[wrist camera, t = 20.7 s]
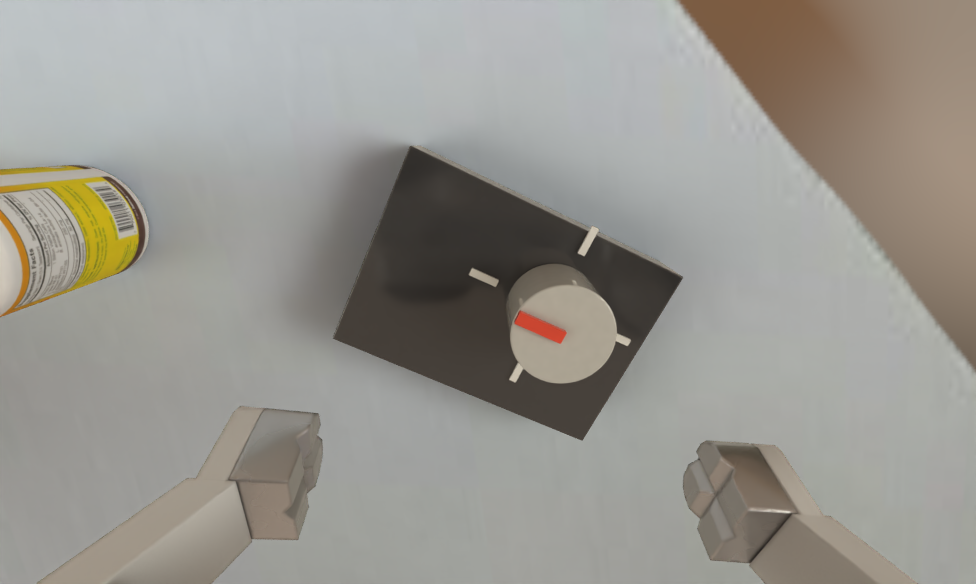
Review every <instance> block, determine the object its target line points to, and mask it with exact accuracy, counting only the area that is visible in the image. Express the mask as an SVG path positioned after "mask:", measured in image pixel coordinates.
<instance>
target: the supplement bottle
mask: <svg viewBox="0 0 976 584" xmlns="http://www.w3.org/2000/svg"><path fill="white" fill-rule="evenodd" d="M148 239H149V225H148V220H147V216H146V213H145V211H144V209H143V206H142V205H141V203H140V201H139V200H138V198H137V197H136V195H135V194H134V193H133V192H132V191H131V190H130V189H129V188H128V187H127V186H126V185H125V184H124V183H123V182H121V181H120V180H119V179H117V178H116V177H114V176H112V175H110V174H109V173H106V172H104V171H102V170H99V169H96V168H93V167H88V166H80V165H68V166H51V167H36V168H17V169H2V170H0V317H2V316H4V315H7V314H10V313H12V312H15V311H18V310H20V309H23V308H26V307H29V306H31V305H34V304H37V303H40V302H43V301H45V300H48V299H50V298H53V297H56V296H58V295H61V294H64V293H67V292H69V291H72V290H75V289H77V288H80V287H83V286H85V285H88V284H91V283H93V282H96V281H99V280H102V279H104V278H107V277H110V276H112V275H115V274H118V273H120V272H122V271H124V270H126V269H128V268H130V267H131V266H133V265H134V264H135V263H136V262H137V261H138V260H139V259H140V258H141V256H142V255H143V253H144V251H145V249H146V247H147V243H148Z"/></svg>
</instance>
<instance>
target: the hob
mask: <svg viewBox="0 0 976 584" xmlns="http://www.w3.org/2000/svg"><path fill="white" fill-rule="evenodd" d="M598 231H599V229H598V228H596V227H594V226H591V228H590V227H587V226H585V225H583V224H581V223H579V222H577V221H575V220H573V219H571V218H569V217H567V216H565V215H563V214H561V213H559V212H556V211H554V210H552V209H550V208H548V207H546V206H544V205H542V204H540V203H538V202H536V201H534V200H532V199H530V198H528V197H525V196H523V195H521V194H519V193H517V192H515V191H513V190H511V189H509V188H507V187H505V186H503V185H501V184H499V183H497V182H494V181H492V180H490V179H488V178H486V177H484V176H482V175H480V174H478V173H476V172H474V171H472V170H470V169H468V168H466V167H463V166H461V165H459V164H457V163H455V162H453V161H451V160H449V159H447V158H445V157H443V156H441V155H439V154H437V153H435V152H432V151H430V150H428V149H426V148H424V147H422V146H410V147H409V150H408V152H407V155H406V157H405V160H404V162H403V165H402V167H401V169H400V172H399V174H398V177H397V179H396V182H395V184H394V187H393V189H392V192H391V194H390V197H389V199H388V202H387V204H386V207H385V209H384V212H383V214H382V217H381V219H380V222H379V224H378V226H377V229H376V231H375V234H374V236H373V239H372V241H371V244H370V246H369V249H368V251H367V254H366V256H365V259H364V261H363V264H362V266H361V269H360V271H359V274H358V276H357V279H356V281H355V284H354V286H353V288H352V291H351V293H350V296H349V298H348V301H347V303H346V306H345V308H344V311H343V313H342V316H341V318H340V321H339V323H338V326H337V328H336V331H335V333H334V336H333V339H335V340H338V341H340V342H343V343H345V344H348V345H350V346H353V347H355V348H357V349H360V350H362V351H365V352H367V353H370V354H372V355H375V356H377V357H379V358H382V359H384V360H387V361H389V362H392V363H394V364H396V365H399V366H401V367H404V368H406V369H409V370H411V371H414V372H416V373H418V374H421V375H423V376H426V377H428V378H431V379H433V380H435V381H438V382H440V383H443V384H445V385H448V386H450V387H453V388H455V389H457V390H460V391H462V392H465V393H467V394H470V395H472V396H475V397H477V398H479V399H482V400H484V401H487V402H489V403H492V404H494V405H496V406H499V407H501V408H504V409H506V410H509V411H511V412H514V413H516V414H518V415H521V416H523V417H526V418H528V419H531V420H533V421H535V422H538V423H540V424H543V425H545V426H548V427H550V428H553V429H555V430H557V431H560V432H562V433H565V434H567V435H570V436H572V437H575V438H577V439H579V440H583V439H584V437H585V435H586V434H587V432H588V431H589V429H590V427H591V426H592V424H593V423H594V421H595V419H596V418H597V416H598V414H599V413H600V411H601V410H602V408H603V406H604V405H605V403H606V402H607V400H608V398H609V397H610V395H611V393H612V392H613V390H614V389H615V387H616V385H617V384H618V382H619V381H620V379H621V377H622V376H623V374H624V372H625V371H626V369H627V368H628V366H629V364H630V363H631V361H632V360H633V358H634V356H635V355H636V353H637V351H638V350H639V348H640V347H641V345H642V343H643V342H644V340H645V338H646V337H647V335H648V334H649V332H650V330H651V329H652V327H653V326H654V324H655V322H656V321H657V319H658V317H659V316H660V314H661V313H662V311H663V309H664V308H665V306H666V305H667V303H668V301H669V300H670V298H671V296H672V295H673V293H674V292H675V290H676V288H677V287H678V285H679V284H680V282H681V280H682V279H683V277H682V276H681V275H679V274H678V273H676V272H675V271H673V270H672V269H670V268H669V267H667V266H666V265H664V264H663V263H661V262H660V261H658V260H656V259H654V258H652V257H649V256H647V255H645V254H643V253H641V252H639V251H637V250H635V249H633V248H631V247H629V246H627V245H625V244H623V243H621V242H618V241H616V240H614V239H612V238H610V237H608V236H606V235H604V234H602V233H600V232H598ZM546 264H563V265H567V266H570V267H572V268H575V269H576V270H578V271H580V272H581V273H582V274H584V275H585V276H586V277H587V278H588V279H589V281H590V282H591V283H592V284H593V286H594V287H595V288H596V290H597V291H598V292H599V293H600V295H601V296H602V297H603V299H604V300H605V301H606V302H607V304H608V305H609V306H610V308H611V310H612V312H613V314H614V317H615V320H616V325H617V337H616V342H615V346H614V349H613V351H612V353H611V355H610V357H609V358H608V360H607V361H606V362H605V364H604V365H603V366H602V367H601V368H600V369H599V370H597V371H596V372H595V373H593V374H592V375H590V376H588V377H586V378H584V379H582V380H579V381H576V382H571V383H551V382H546V381H543V380H540V379H538V378H536V377H534V376H532V375H531V374H529V373H528V372H527V371H526V370H524V369H523V368H522V366H521V365H520V364H519V363H518V361H517V360H516V358H515V356H514V354H513V351H512V348H511V342H510V335H509V328H508V321H507V314H506V304H507V299H508V295H509V293H510V290H511V288H512V287H513V285H514V284H515V282H516V281H517V280H518V279H519V278H520V277H521V276H522V275H523V274H525V273H526V272H528V271H529V270H531V269H533V268H535V267H538V266H541V265H546Z"/></svg>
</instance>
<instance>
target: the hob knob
mask: <svg viewBox="0 0 976 584" xmlns="http://www.w3.org/2000/svg"><path fill="white" fill-rule="evenodd" d="M506 314H507V321H508V328H509V335H510V342H511V348H512V351H513V354H514V356H515V358H516V360H517V361H518V363H519V364H520V365H521V366H522V368H523V369H524V370H526V371H527V372H528V373H529V374H531V375H532V376H534V377H536V378H538V379H540V380H543V381H546V382H551V383H571V382H576V381H579V380H582V379H584V378H586V377H588V376H590V375H592V374H593V373H595V372H596V371H597V370H599V369H600V368H601V367H602V366H603V365H604V364H605V362H606V361H607V360H608V358H609V357H610V355H611V353H612V351H613V349H614V346H615V342H616V337H617V325H616V320H615V317H614V314H613V312H612V310H611V308H610V306H609V305H608V304H607V302H606V301H605V300H604V299H603V297H602V296H601V295H600V293H599V292H598V291H597V290H596V288H595V287H594V286H593V284H592V283H591V282H590V281H589V279H588V278H587V277H586V276H585V275H584V274H582V273H581V272H580V271H578V270H576V269H575V268H572V267H570V266H567V265H563V264H546V265H541V266H538V267H535V268H533V269H531V270H529V271H528V272H526V273H525V274H523V275H522V276H521V277H520V278H519V279H518V280H517V281H516V282H515V284H514V285H513V287H512V288H511V290H510V293H509V295H508V299H507V304H506Z"/></svg>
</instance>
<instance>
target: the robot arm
mask: <svg viewBox="0 0 976 584" xmlns="http://www.w3.org/2000/svg"><path fill="white" fill-rule="evenodd" d="M320 425H321V424H320V417H319V414H318V413H310V412H300V411H289V410H279V409H269V408H256V407H244V406H240V407H239V408H238V409H237V410H236V411H234V412H233V414H232V415H231V417H230V419H229V421H228V422H227V424H226V426H225V428H224V429H223V431H222V433H221V435H220V436H219V438H218V440H217V442H216V443H215V445H214V447H213V449H212V450H211V452H210V454H209V456H208V457H207V459H206V461H205V463H204V464H203V466H202V468H201V470H200V471H199V473H198V475H197V477H196V478H187V479H185V480H184V481H182V482H181V483H179V484H178V485H177V486H175V487H174V488H172V489H171V490H169V491H168V492H167V493H165V494H164V495H162V496H161V497H159V498H158V499H156V500H155V501H154V502H152V503H151V504H149V505H148V506H146V507H145V508H144V509H142V510H141V511H139V512H138V513H136V514H135V515H133V516H132V517H131V518H129V519H128V520H126V521H125V522H123V523H122V524H121V525H119V526H118V527H116V528H115V529H113V530H112V531H110V532H109V533H108V534H106V535H105V536H103V537H102V538H100V539H99V540H98V541H96V542H95V543H93V544H92V545H90V546H89V547H87V548H86V549H85V550H83V551H82V552H80V553H79V554H77V555H76V556H75V557H73V558H72V559H70V560H69V561H67V562H66V563H65V564H63V565H62V566H60V567H59V568H57V569H56V570H54V571H53V572H52V573H50V574H49V575H47V576H46V577H44V578H43V579H42V580H40V581H39V582H37V584H211V583H212V582H213V581H214V580H215V579H216V578H217V577H218V576H219V575H220V574H221V573H222V572H223V571H224V570H225V569H226V568H227V567H228V566H229V565H230V564H231V563H232V562H233V561H234V560H235V559H236V558H237V557H238V556H239V555H240V554H241V553H242V552H243V551H244V550H245V548H246V547H247V546H248V545H249V544H250V543H251V542H252V540H251V539H276V540H298V538H299V535H300V532H301V529H302V526H303V523H304V520H305V517H306V514H307V511H308V508H309V505H308V497H307V493H308V492H309V491H311V490H312V489H313V488H314V487H315V486H316V483H317V479H318V476H319V473H320V467H321V462H322V453H323V444H322V439H321V438H320V437H319V436H318V435H317V434H318V431H319V428H320ZM696 452H697V454H698V457H699V459H697V460H695V461H694V462H692V463H690V464H689V465H688V467H687V469H686V471H685V473H684V477H683V490H684V496H685V499H686V502H687V504H688V507H689V509H690V510H691V511H692V512H693V513H694V514H696V515H697V516H698V517H699V518H700V521H699V524H698V528H697V529H698V532H699V534H700V537H701V539H702V541H703V544H704V546H705V549H706V551H707V554H708V556H709V558H710V560H714V561H727V562H740V563H750V565H749V566H750V567H751V568H752V569H753V571H754V572H755V573H756V574H757V575H758V576H759V577H760V578H761V579H762V581H763V582H764V583H765V584H918V583H917V582H915V581H914V580H913V579H912V578H910V577H909V576H908V575H906V574H905V573H904V572H902V571H901V570H900V569H899V568H897V567H896V566H895V565H893V564H892V563H891V562H890V561H888V560H887V559H886V558H884V557H883V556H882V555H880V554H879V553H878V552H877V551H875V550H874V549H873V548H871V547H870V546H869V545H867V544H866V543H865V542H864V541H862V540H861V539H860V538H858V537H857V536H856V535H854V534H853V533H852V532H851V531H849V530H848V529H847V528H845V527H844V526H843V525H842V524H840V523H839V522H838V521H836V520H835V519H834V518H832V517H831V516H824V515H823V514H822V512H821V511H820V509H819V508H818V506H817V505H816V503H815V501H814V500H813V498H812V497H811V495H810V494H809V492H808V491H807V489H806V488H805V486H804V485H803V483H802V482H801V480H800V479H799V477H798V475H797V474H796V472H795V471H794V469H793V468H792V466H791V465H790V463H789V462H788V460H787V459H786V457H785V456H784V454H783V453H782V451H781V450H780V449H779V448H777V447H776V446H775V445H764V444H749V443H740V442H723V441H705V442H703V443H701V444H700V446H699V448H698V449H697V451H696Z"/></svg>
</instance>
